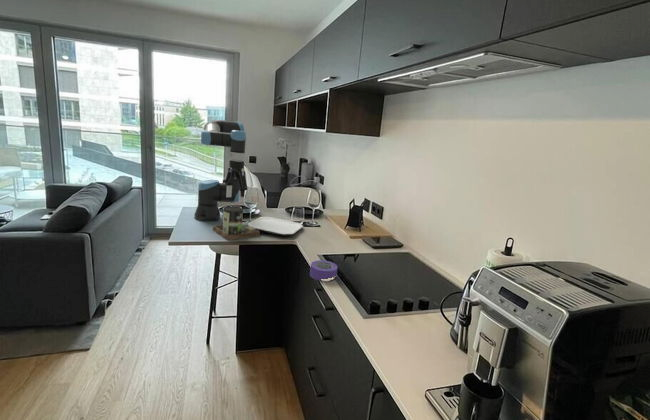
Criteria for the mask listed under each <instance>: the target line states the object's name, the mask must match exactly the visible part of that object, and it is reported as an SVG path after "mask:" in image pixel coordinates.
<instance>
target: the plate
mask: <svg viewBox="0 0 650 420" xmlns="http://www.w3.org/2000/svg"><path fill="white" fill-rule="evenodd" d="M246 223H247V222H246ZM247 224H248V226H252V227H254V228H255V229H256V230H258V231H260V232H264V233H268V234H271V235H278V236H293V235H294V234H296V233H298V232H299V231H300V230H301V229H303V228H304V225H302V224H301V223H300V222H296V221H291V220H286V219H281V218H276V217H273V216H272V217H271V216H260V217H258V218H256V219H254V220H251V221H249V222H248V223H247Z"/></svg>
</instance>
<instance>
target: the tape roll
mask: <svg viewBox="0 0 650 420" xmlns="http://www.w3.org/2000/svg"><path fill="white" fill-rule="evenodd" d="M338 268H339V267H338V265H337V264H336V263H334V262H332V261H328V260H322V259H320V260H318V259H317V260H315V261H311V263H310V270H309V276H310V277H311V278H312V279H314V280H316V281H319V282H321V281H320V280H321V279H328V278H332V277H334V276H336V275H338ZM336 277H337V276H336Z"/></svg>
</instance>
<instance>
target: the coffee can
mask: <svg viewBox="0 0 650 420" xmlns="http://www.w3.org/2000/svg"><path fill="white" fill-rule="evenodd" d="M222 210H223V216H222V217H223V218H222V225H223V229H222V231H223V232H225V233H226V234H228V235H232V234H240V233H242V231H241V230H242V222H243V213H244V208H242V207H239V206H238V207H237V206H226V207H223V209H222Z"/></svg>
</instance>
